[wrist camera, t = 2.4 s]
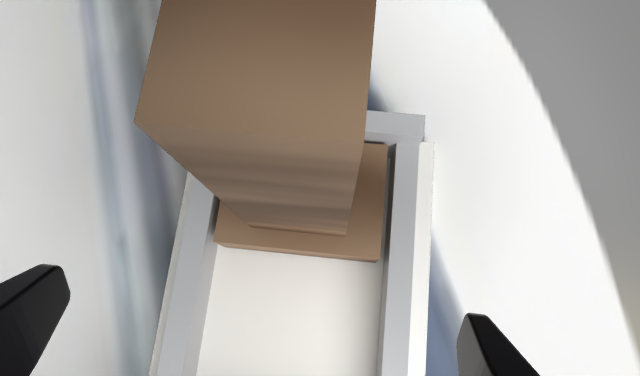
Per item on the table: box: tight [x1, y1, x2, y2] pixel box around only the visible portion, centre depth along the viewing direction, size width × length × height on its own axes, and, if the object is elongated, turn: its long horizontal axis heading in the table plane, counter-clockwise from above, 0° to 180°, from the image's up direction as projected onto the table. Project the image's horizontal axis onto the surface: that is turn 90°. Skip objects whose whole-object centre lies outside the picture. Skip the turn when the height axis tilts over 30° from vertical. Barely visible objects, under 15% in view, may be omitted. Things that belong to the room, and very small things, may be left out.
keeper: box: [134, 0, 388, 263], centre depth 14 cm, size 5×7×13 cm
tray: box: [148, 110, 435, 376], centre depth 18 cm, size 21×12×4 cm, turn 174°
